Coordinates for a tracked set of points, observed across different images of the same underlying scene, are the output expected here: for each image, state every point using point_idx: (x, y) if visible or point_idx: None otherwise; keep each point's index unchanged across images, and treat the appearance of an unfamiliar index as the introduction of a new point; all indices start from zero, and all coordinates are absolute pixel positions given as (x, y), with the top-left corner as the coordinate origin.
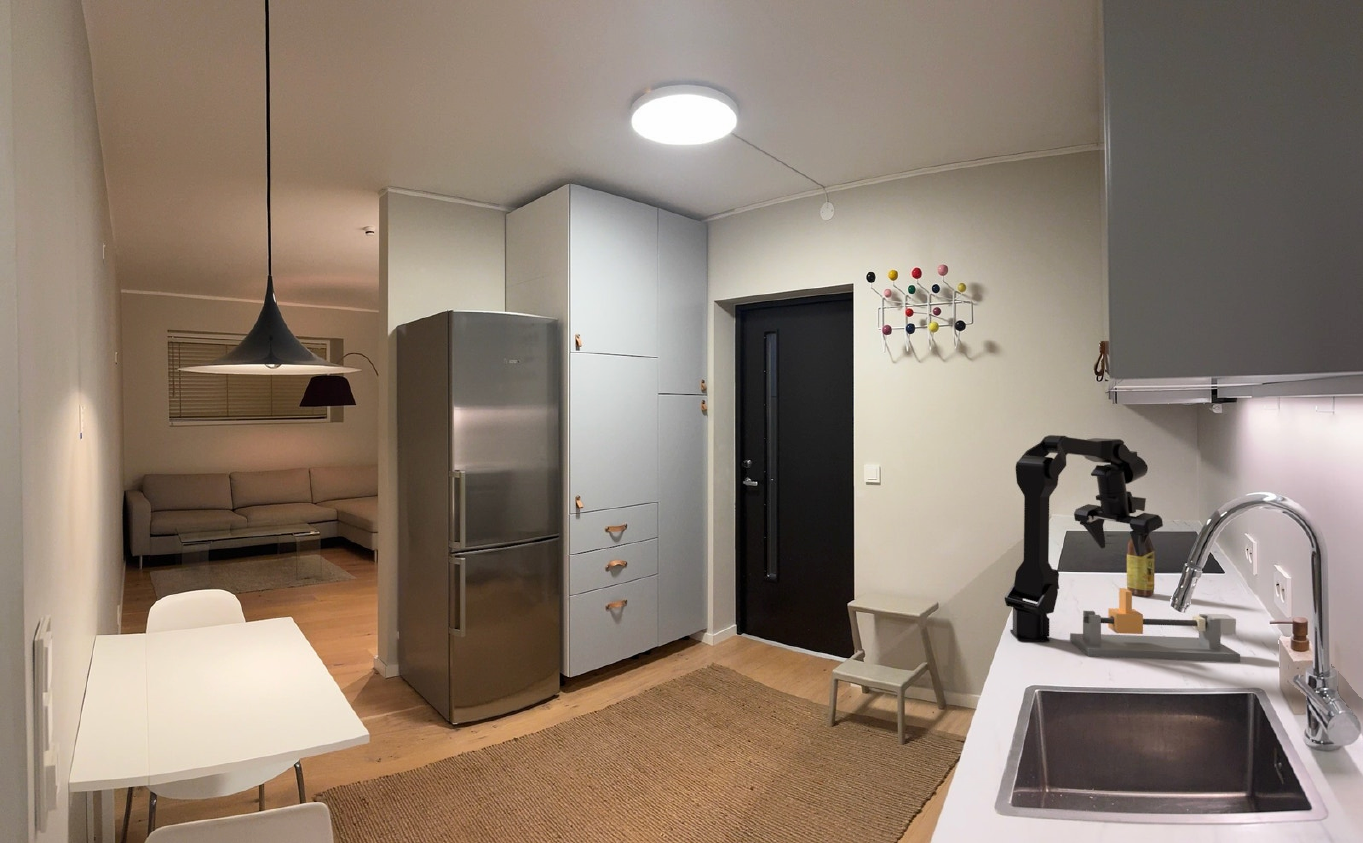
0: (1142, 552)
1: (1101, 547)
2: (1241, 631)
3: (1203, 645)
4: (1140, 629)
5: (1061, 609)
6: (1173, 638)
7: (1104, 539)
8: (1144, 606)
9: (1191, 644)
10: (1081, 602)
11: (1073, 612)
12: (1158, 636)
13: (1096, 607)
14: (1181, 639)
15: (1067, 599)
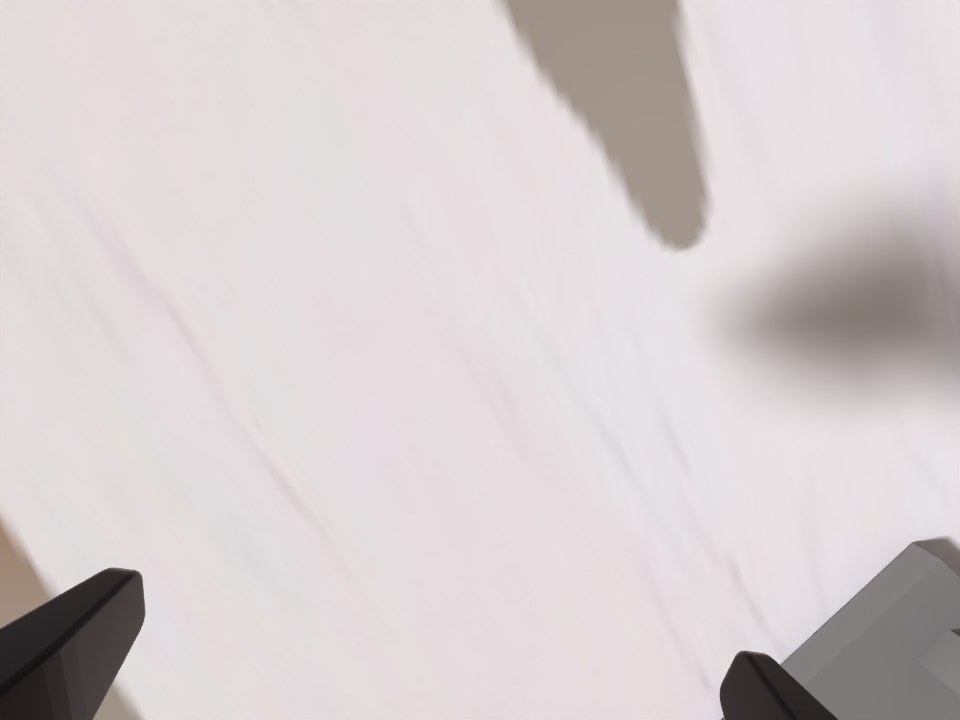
0: (804, 695)
1: (123, 646)
2: (957, 201)
3: (944, 690)
4: None
5: (228, 539)
6: (829, 694)
7: (12, 690)
8: (455, 105)
9: (905, 715)
10: (202, 321)
11: (294, 542)
12: None
13: (308, 355)
14: (857, 682)
15: (119, 323)
